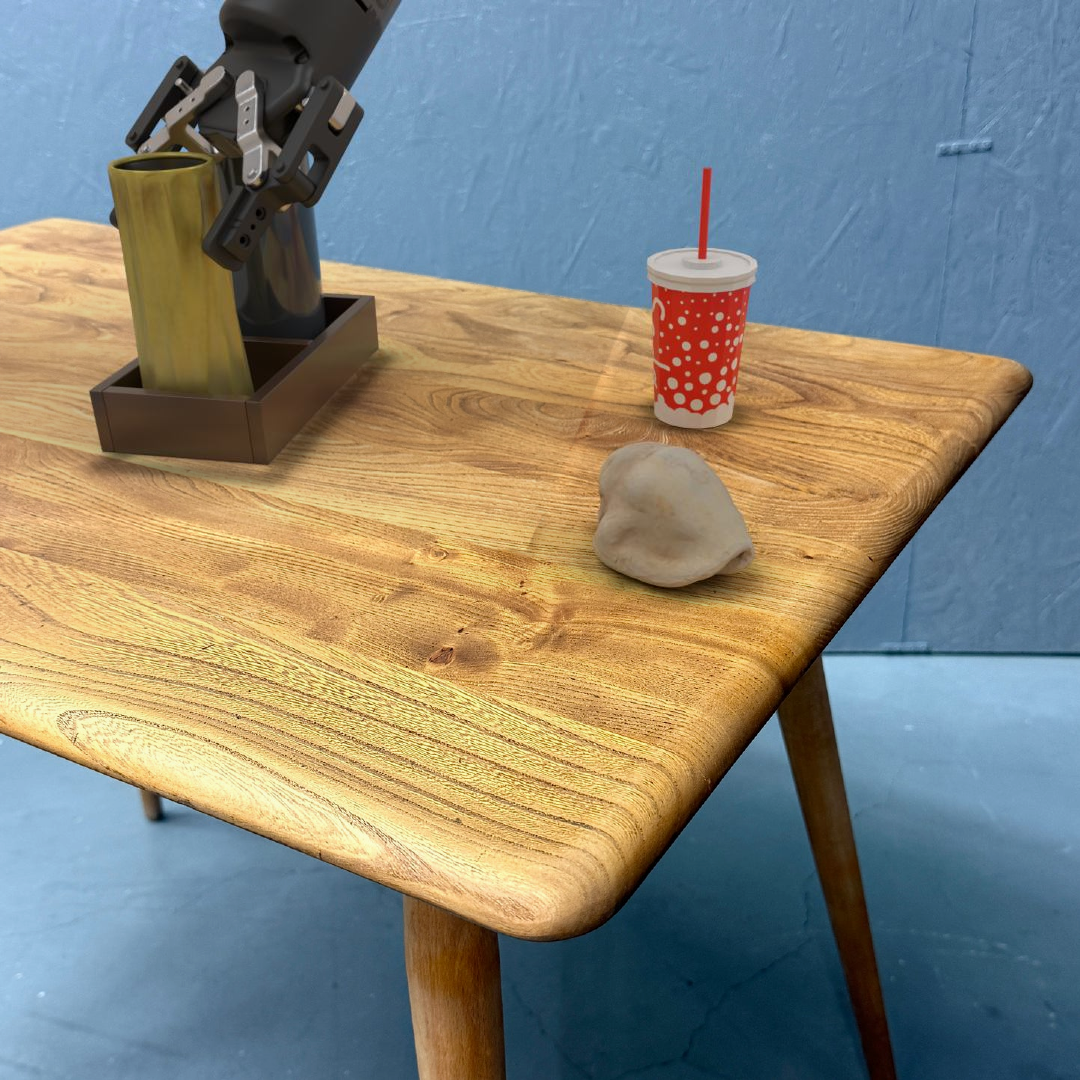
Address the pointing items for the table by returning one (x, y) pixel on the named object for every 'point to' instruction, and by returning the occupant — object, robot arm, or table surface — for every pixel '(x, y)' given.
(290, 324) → the dark grey cylinder
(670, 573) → the stone
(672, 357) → the beverage cup
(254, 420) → the rack
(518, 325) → the table surface
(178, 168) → the vase
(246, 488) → the table surface
